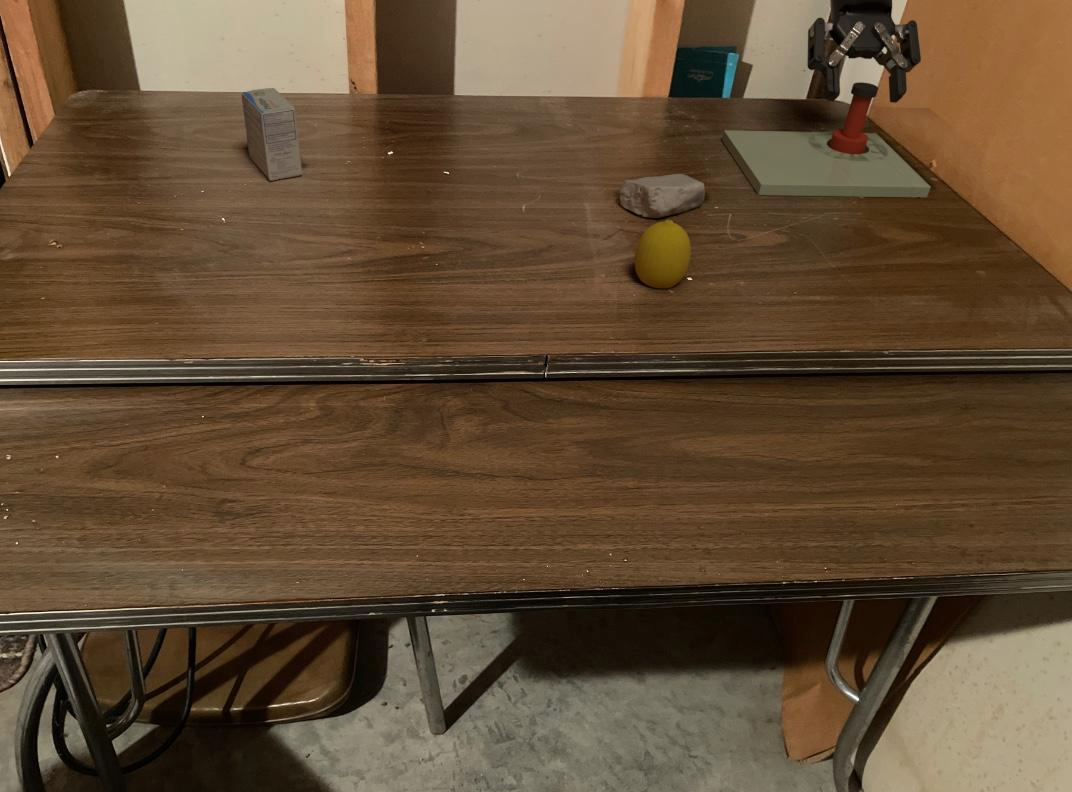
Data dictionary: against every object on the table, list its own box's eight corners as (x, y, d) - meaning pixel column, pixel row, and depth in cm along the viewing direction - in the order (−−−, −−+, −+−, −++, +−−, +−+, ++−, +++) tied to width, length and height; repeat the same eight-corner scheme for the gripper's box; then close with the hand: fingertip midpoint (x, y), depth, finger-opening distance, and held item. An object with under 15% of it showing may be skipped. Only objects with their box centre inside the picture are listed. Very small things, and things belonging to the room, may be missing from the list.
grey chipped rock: (677, 222, 116) (689, 176, 114) (708, 230, 111) (722, 181, 109) (613, 209, 112) (625, 160, 110) (642, 217, 106) (656, 165, 105)
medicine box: (303, 176, 114) (297, 107, 109) (268, 182, 113) (261, 112, 107) (281, 153, 120) (275, 86, 114) (248, 159, 118) (240, 90, 112)
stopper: (854, 150, 128) (875, 80, 122) (866, 163, 125) (889, 92, 119) (822, 149, 128) (842, 80, 122) (833, 162, 124) (855, 91, 118)
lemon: (619, 283, 97) (630, 213, 92) (663, 274, 99) (676, 204, 94) (648, 309, 93) (661, 237, 88) (693, 298, 95) (708, 228, 90)
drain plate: (872, 142, 131) (875, 132, 130) (926, 198, 117) (931, 186, 116) (721, 139, 129) (723, 129, 128) (758, 195, 115) (761, 184, 114)
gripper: (820, -37, 118) (825, 84, 116) (927, -34, 118) (933, 86, 117) (796, -3, 125) (800, 111, 124) (897, -1, 126) (902, 113, 125)
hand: (865, 99), depth 120 cm, fingers open, 8 cm apart
